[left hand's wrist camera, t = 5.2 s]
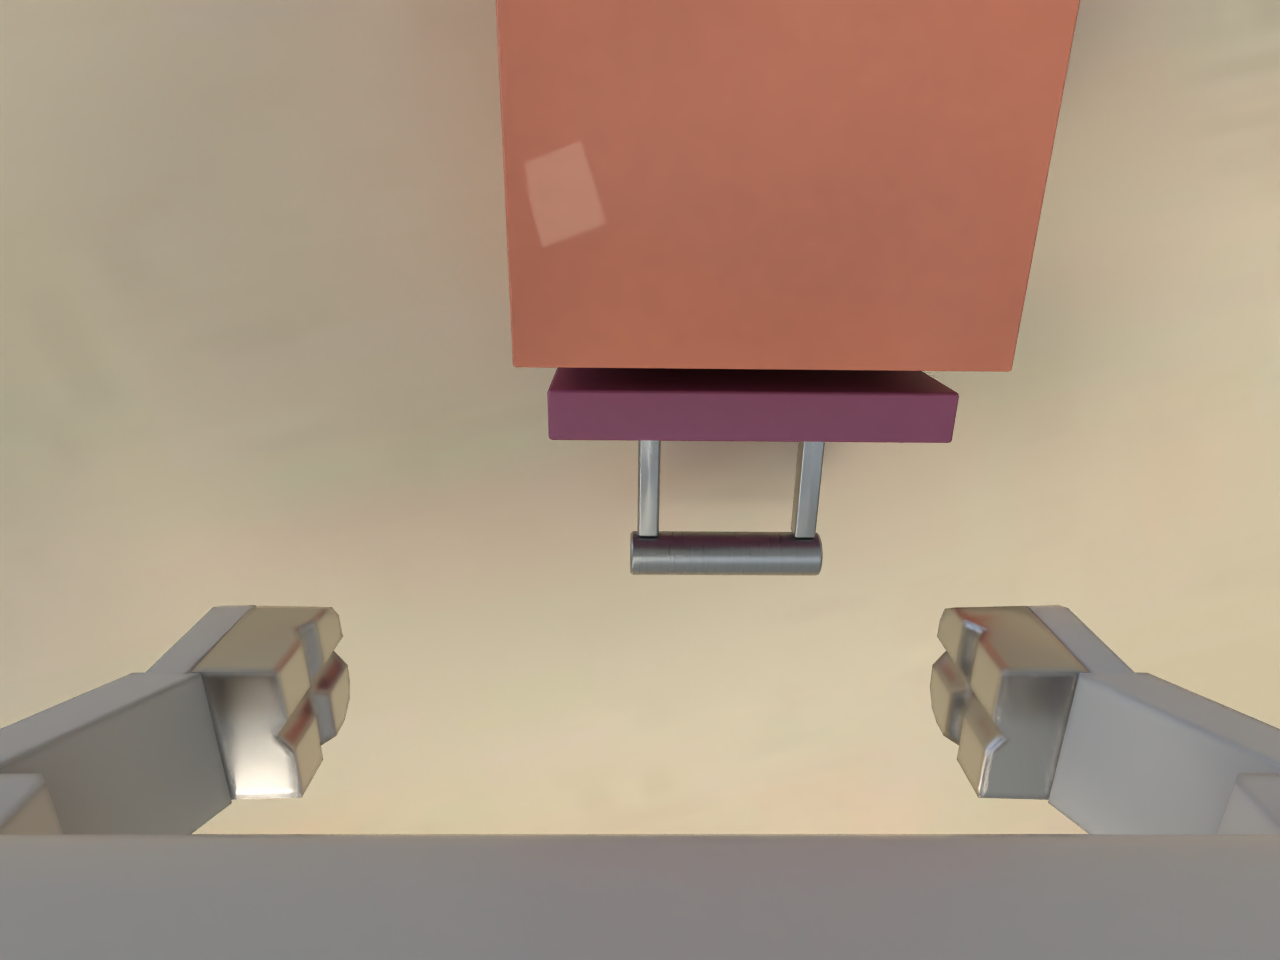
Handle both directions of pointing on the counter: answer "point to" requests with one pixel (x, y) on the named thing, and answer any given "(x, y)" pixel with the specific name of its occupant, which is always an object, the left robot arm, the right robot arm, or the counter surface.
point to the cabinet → (775, 179)
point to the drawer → (743, 412)
